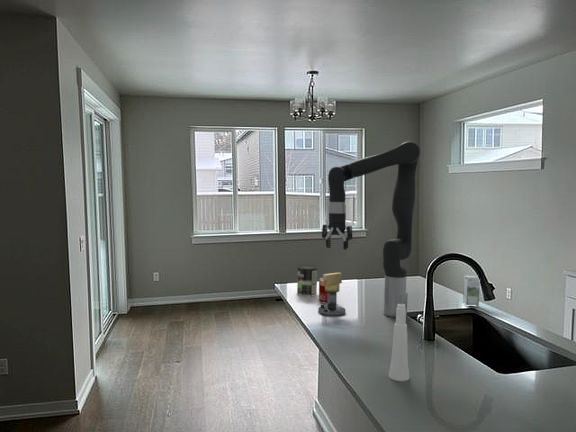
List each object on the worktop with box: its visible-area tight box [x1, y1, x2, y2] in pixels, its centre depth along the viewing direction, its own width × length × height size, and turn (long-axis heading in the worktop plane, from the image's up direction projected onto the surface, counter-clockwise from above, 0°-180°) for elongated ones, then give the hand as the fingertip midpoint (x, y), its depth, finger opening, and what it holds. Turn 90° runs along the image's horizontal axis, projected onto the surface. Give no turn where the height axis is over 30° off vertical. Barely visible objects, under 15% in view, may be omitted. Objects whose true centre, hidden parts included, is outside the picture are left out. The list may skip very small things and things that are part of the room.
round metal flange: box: [317, 292, 346, 317], centre depth 206 cm, size 12×12×10 cm
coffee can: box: [296, 264, 318, 297], centre depth 239 cm, size 10×10×14 cm
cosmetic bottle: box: [388, 304, 410, 382], centre depth 137 cm, size 6×6×22 cm
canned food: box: [318, 277, 328, 304], centre depth 225 cm, size 8×8×11 cm
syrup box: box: [462, 274, 481, 306], centre depth 220 cm, size 6×6×14 cm
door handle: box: [320, 271, 343, 293], centre depth 205 cm, size 10×6×8 cm, turn 127°
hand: (336, 248), depth 206 cm, fingers open, 8 cm apart
